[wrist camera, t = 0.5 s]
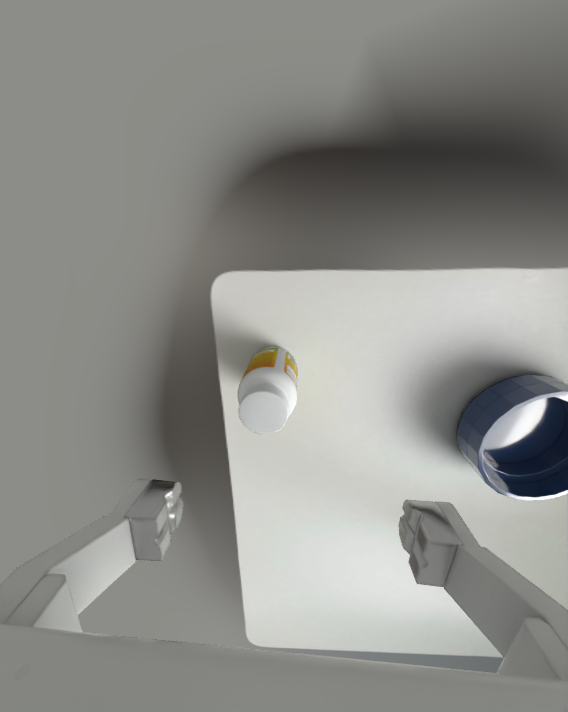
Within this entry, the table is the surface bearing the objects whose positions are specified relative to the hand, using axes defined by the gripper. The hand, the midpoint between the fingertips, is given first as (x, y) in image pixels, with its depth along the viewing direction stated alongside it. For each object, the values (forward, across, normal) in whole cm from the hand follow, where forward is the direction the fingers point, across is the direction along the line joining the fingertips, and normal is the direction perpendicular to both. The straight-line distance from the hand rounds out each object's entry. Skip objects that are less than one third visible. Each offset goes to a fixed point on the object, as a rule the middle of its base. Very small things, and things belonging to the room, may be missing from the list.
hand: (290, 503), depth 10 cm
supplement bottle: (+21, +2, +3) cm, 21 cm away
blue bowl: (+21, -26, +8) cm, 34 cm away
